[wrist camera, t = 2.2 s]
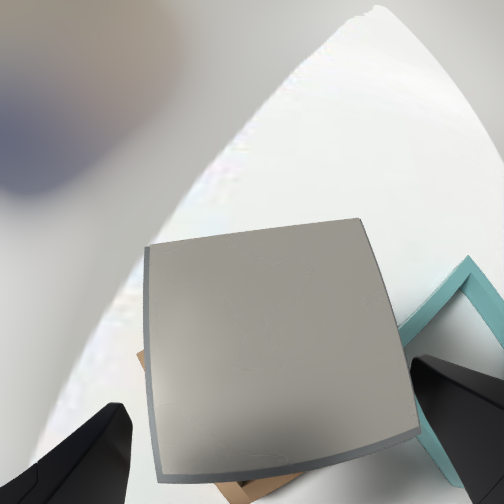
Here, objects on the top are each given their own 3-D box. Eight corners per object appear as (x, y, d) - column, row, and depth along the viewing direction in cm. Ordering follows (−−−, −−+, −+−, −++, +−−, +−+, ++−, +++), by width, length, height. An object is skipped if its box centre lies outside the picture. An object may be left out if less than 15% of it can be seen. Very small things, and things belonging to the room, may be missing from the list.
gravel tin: (314, 422, 15) (434, 434, 4) (225, 436, 14) (148, 489, 4) (299, 341, 17) (366, 206, 6) (215, 353, 17) (137, 234, 6)
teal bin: (529, 375, 14) (545, 369, 12) (451, 485, 11) (468, 489, 9) (455, 267, 19) (468, 254, 17) (359, 361, 16) (370, 354, 15)
